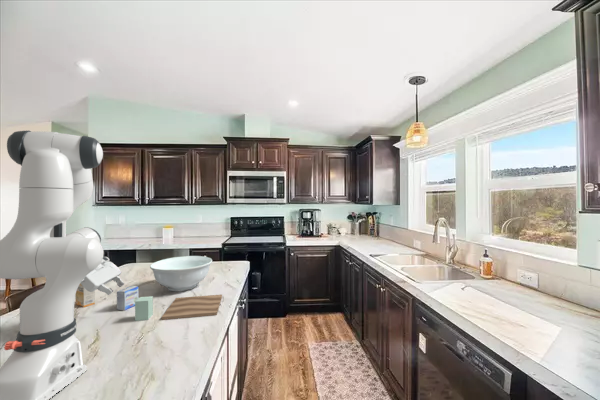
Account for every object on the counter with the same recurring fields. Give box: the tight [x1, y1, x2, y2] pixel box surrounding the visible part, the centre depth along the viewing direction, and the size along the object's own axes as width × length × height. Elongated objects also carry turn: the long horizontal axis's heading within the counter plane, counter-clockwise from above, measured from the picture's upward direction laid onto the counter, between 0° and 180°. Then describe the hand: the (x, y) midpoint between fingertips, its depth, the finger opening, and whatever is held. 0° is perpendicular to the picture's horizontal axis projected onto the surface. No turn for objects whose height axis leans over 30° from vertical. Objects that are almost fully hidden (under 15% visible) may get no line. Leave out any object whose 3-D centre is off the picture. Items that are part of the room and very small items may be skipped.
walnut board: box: [161, 294, 223, 321], centre depth 121 cm, size 22×22×1 cm
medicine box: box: [116, 285, 140, 312], centre depth 122 cm, size 8×4×9 cm, turn 168°
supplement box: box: [75, 284, 96, 308], centre depth 125 cm, size 8×5×13 cm, turn 62°
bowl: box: [149, 255, 213, 292], centre depth 150 cm, size 32×32×15 cm
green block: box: [134, 295, 154, 322], centre depth 110 cm, size 5×5×8 cm
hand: (117, 289), depth 108 cm, fingers open, 8 cm apart
